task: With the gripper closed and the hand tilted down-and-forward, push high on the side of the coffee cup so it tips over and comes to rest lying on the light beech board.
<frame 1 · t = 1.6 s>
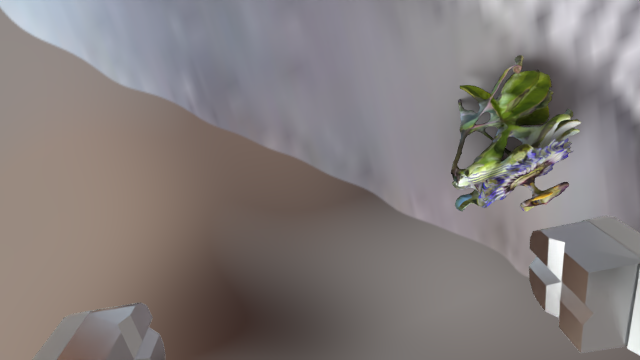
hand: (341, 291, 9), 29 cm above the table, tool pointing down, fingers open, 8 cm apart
passion flower: (481, 128, 39), on the table
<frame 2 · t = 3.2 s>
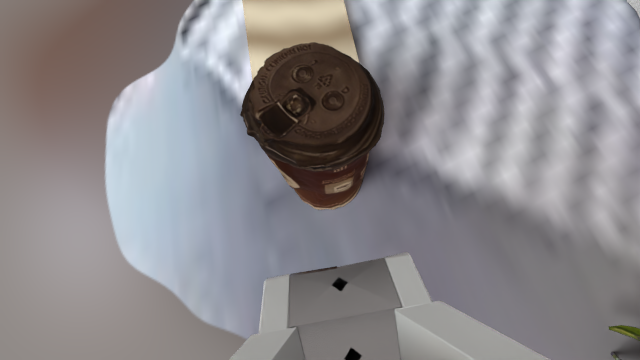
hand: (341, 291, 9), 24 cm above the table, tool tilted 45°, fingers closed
beech board: (300, 42, 41), on the table
coffee cup: (325, 176, 35), on the table
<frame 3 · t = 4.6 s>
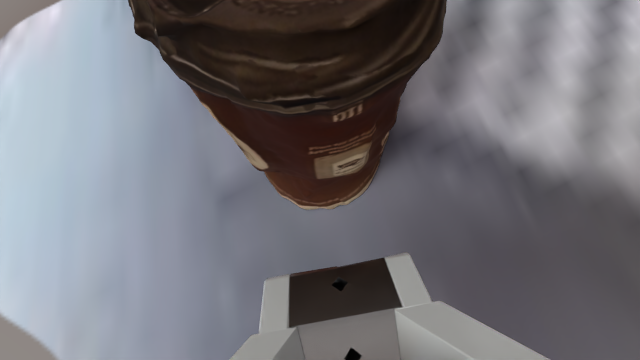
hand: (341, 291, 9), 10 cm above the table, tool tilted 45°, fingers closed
coffee cup: (317, 155, 22), on the table
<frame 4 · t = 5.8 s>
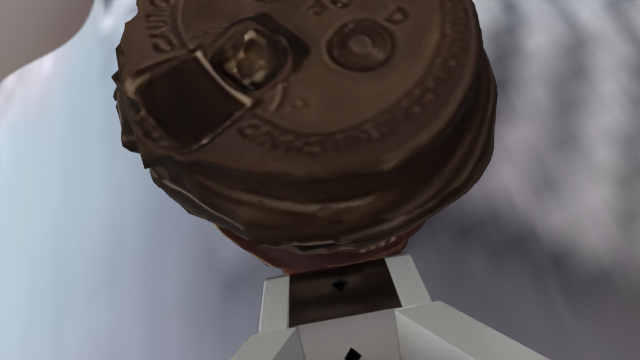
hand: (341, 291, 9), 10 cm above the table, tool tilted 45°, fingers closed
coffee cup: (331, 233, 20), on the table, touching gripper
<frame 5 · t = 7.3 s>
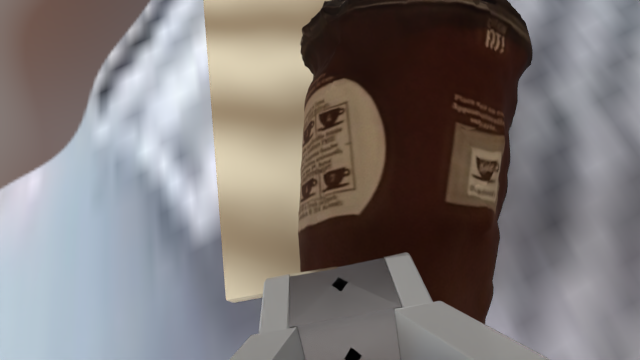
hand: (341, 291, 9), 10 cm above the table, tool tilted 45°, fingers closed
beech board: (310, 116, 22), on the table
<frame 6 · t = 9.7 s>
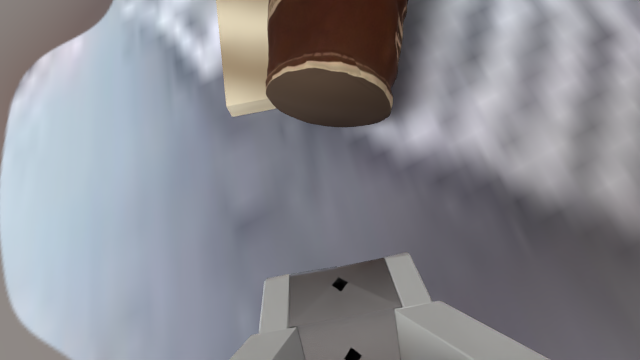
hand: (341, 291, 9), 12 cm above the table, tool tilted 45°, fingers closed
coffee cup: (324, 108, 20), point 4 cm above the table, touching beech board
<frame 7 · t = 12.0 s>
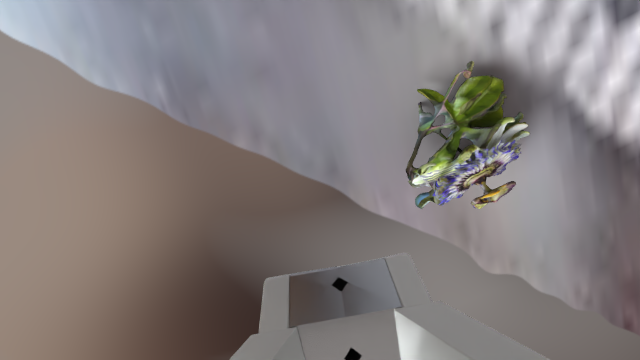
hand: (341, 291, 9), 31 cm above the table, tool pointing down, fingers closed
passion flower: (442, 130, 40), on the table
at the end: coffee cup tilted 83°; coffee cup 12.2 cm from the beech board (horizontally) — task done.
